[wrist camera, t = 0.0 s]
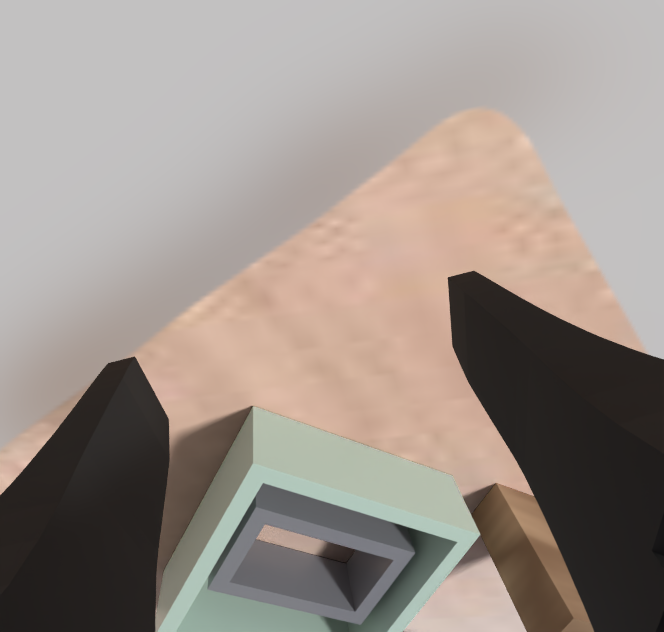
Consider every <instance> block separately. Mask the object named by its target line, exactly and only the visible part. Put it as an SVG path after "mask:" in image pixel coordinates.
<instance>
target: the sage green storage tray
mask: <svg viewBox="0 0 664 632" xmlns="http://www.w3.org/2000/svg"><path fill="white" fill-rule="evenodd" d="M265 524H266V525H270V526H273V527H277V528H280V529H284V530H288V531H291V532H295V533H298V534H302V535H306V536H309V537H313V538H316V539H320V540H323V541H327V542H331V543H334V544H338V545H341V546H345V547H349V548H352V549H356V550H355V552H354V553H353V555H352V556H351V558H350V559H349V560H348V562H347V563H342V562H338V561H334V560H331V559H327V558H323V557H319V556H316V555H312V554H308V553H304V552H301V551H297V550H293V549H289V548H286V547H282V546H278V545H275V544H271V543H267V542H263V541H260V540H256V538H257V536H258V535H259V533H260V531H261V530H262V528H263V526H264V525H265ZM480 535H481V534H480V532H479V530H478V528H477V526H476V524H475V522H474V520H473V518H472V516H471V514H470V512H469V509H468V507H467V505H466V503H465V501H464V499H463V497H462V495H461V493H460V491H459V489H458V486H457V484H456V482H455V480H454V478H453V476H452V475H449V474H446V473H443V472H441V471H438V470H435V469H432V468H429V467H426V466H423V465H421V464H418V463H415V462H412V461H409V460H406V459H403V458H401V457H398V456H395V455H392V454H389V453H386V452H383V451H381V450H378V449H375V448H372V447H369V446H366V445H363V444H361V443H358V442H355V441H352V440H349V439H346V438H343V437H341V436H338V435H335V434H332V433H329V432H326V431H323V430H321V429H318V428H315V427H312V426H309V425H306V424H303V423H301V422H298V421H295V420H292V419H289V418H286V417H283V416H281V415H278V414H275V413H272V412H269V411H266V410H263V409H261V408H258V407H255V406H253V407H252V409H251V411H250V413H249V415H248V416H247V418H246V420H245V422H244V424H243V426H242V427H241V429H240V431H239V433H238V435H237V437H236V439H235V440H234V442H233V444H232V446H231V448H230V450H229V451H228V453H227V455H226V457H225V459H224V461H223V463H222V464H221V466H220V468H219V470H218V472H217V474H216V475H215V477H214V479H213V481H212V483H211V485H210V486H209V488H208V490H207V492H206V494H205V496H204V498H203V499H202V501H201V503H200V505H199V507H198V509H197V510H196V512H195V514H194V516H193V518H192V520H191V522H190V523H189V525H188V527H187V529H186V531H185V533H184V534H183V536H182V538H181V540H180V542H179V544H178V545H177V547H176V549H175V551H174V553H173V555H172V557H171V558H170V560H169V562H168V564H167V566H166V568H165V569H164V572H163V577H162V583H161V589H160V594H159V600H158V606H157V612H156V617H155V632H403V631H404V629H405V628H406V627H407V626H408V624H409V623H410V622H411V621H412V619H413V618H414V617H415V616H416V614H417V613H418V612H419V611H420V609H421V608H422V607H423V606H424V604H425V603H426V602H427V601H428V599H429V598H430V597H431V596H432V594H433V593H434V592H435V591H436V589H437V588H438V587H439V586H440V585H441V583H442V582H443V581H444V580H445V578H446V577H447V576H448V575H449V573H450V572H451V571H452V570H453V568H454V567H455V566H456V565H457V563H458V562H459V561H460V560H461V558H462V557H463V556H464V555H465V553H466V552H467V551H468V550H469V548H470V547H471V546H472V545H473V543H474V542H475V541H476V540H477V538H478V537H479V536H480Z"/></svg>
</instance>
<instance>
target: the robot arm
mask: <svg viewBox="0 0 664 632" xmlns="http://www.w3.org/2000/svg"><path fill="white" fill-rule="evenodd" d="M448 287H449V301H450V316H451V331H452V345H453V348H454V351H455V353H456V355H457V358H458V360H459V362H460V365H461V367H462V369H463V371H464V374H465V376H466V378H467V380H468V382H469V384H470V386H471V387H472V389H473V391H474V392H475V394H476V396H477V397H478V399H479V401H480V402H481V404H482V406H483V407H484V409H485V411H486V412H487V414H488V415H489V417H490V419H491V420H492V422H493V423H494V425H495V427H496V428H497V430H498V432H499V433H500V435H501V436H502V438H503V440H504V441H505V443H506V445H507V446H508V448H509V449H510V451H511V453H512V454H513V456H514V458H515V459H516V461H517V463H518V465H519V467H520V468H521V470H522V472H523V474H524V476H525V478H526V480H527V482H528V484H529V486H530V488H531V490H532V492H533V494H534V496H535V498H536V501H537V503H538V505H539V507H540V509H541V511H542V513H543V515H544V517H545V520H546V522H547V524H548V526H549V528H550V531H551V533H552V535H553V537H554V539H555V541H556V544H557V546H558V548H559V550H560V552H561V555H562V557H563V559H564V561H565V564H566V566H567V568H568V571H569V573H570V575H571V578H572V580H573V582H574V585H575V587H576V589H577V591H578V594H579V596H580V598H581V601H582V603H583V605H584V608H585V610H586V613H587V615H588V618H589V620H590V622H591V625H592V627H593V630H594V632H664V360H663V359H660V358H657V357H653V356H651V355H648V354H645V353H642V352H639V351H636V350H633V349H630V348H628V347H625V346H622V345H620V344H617V343H615V342H612V341H609V340H607V339H604V338H602V337H599V336H597V335H594V334H592V333H590V332H587V331H585V330H583V329H581V328H579V327H577V326H575V325H572V324H570V323H568V322H566V321H564V320H562V319H560V318H558V317H556V316H554V315H552V314H550V313H548V312H546V311H544V310H542V309H540V308H538V307H537V306H535V305H533V304H531V303H529V302H527V301H526V300H524V299H522V298H520V297H519V296H517V295H515V294H513V293H512V292H510V291H508V290H506V289H505V288H503V287H501V286H500V285H498V284H496V283H494V282H493V281H491V280H489V279H488V278H486V277H484V276H482V275H481V274H479V273H477V272H475V271H471V272H467V273H463V274H460V275H456V276H452V277H448ZM168 468H169V419H168V417H167V415H166V413H165V411H164V410H163V408H162V406H161V404H160V402H159V400H158V398H157V397H156V395H155V393H154V391H153V389H152V387H151V385H150V384H149V382H148V380H147V378H146V376H145V374H144V372H143V371H142V369H141V367H140V365H139V363H138V361H137V359H136V358H135V357H131V358H127V359H123V360H120V361H115V362H111V363H108V364H107V365H106V367H105V368H104V369H103V370H102V371H101V373H100V374H99V375H98V376H97V378H96V379H95V380H94V382H93V383H92V384H91V386H90V387H89V388H88V390H87V391H86V392H85V394H84V395H83V396H82V398H81V399H80V400H79V402H78V403H77V404H76V406H75V407H74V408H73V409H72V411H71V412H70V413H69V415H68V416H67V417H66V419H65V420H64V421H63V423H62V424H61V425H60V426H59V428H58V429H57V430H56V432H55V433H54V434H53V435H52V437H51V438H50V439H49V440H48V441H47V443H46V444H45V445H44V446H43V447H42V449H41V450H40V451H39V452H38V453H37V455H36V456H35V457H34V458H33V459H32V460H31V462H30V463H29V464H28V465H27V466H26V468H25V469H24V470H23V471H22V472H21V474H20V475H19V476H18V477H17V478H16V479H15V480H14V481H13V482H12V483H11V485H10V486H9V487H8V488H7V489H6V490H5V491H4V492H3V493H2V494H1V495H0V632H155V609H156V569H157V557H158V547H159V539H160V532H161V524H162V516H163V508H164V501H165V493H166V485H167V476H168Z"/></svg>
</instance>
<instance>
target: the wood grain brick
mask: <svg viewBox="0 0 664 632" xmlns="http://www.w3.org/2000/svg"><path fill="white" fill-rule="evenodd" d="M471 516H472V518H473V520H474V522H475V524H476V526H477V528H478V530H479V532H480V534H481V537H482V539H483V541H484V543H485V545H486V547H487V549H488V551H489V553H490V556H491V558H492V560H493V562H494V564H495V566H496V568H497V570H498V572H499V574H500V576H501V578H502V581H503V583H504V585H505V587H506V589H507V591H508V593H509V595H510V597H511V599H512V601H513V604H514V606H515V608H516V610H517V612H518V614H519V616H520V618H521V620H522V622H523V624H524V626H525V629H526V631H527V632H594V630H593V627H592V625H591V622H590V620H589V618H588V615H587V613H586V610H585V608H584V605H583V603H582V601H581V598H580V596H579V594H578V591H577V589H576V587H575V585H574V582H573V580H572V578H571V575H570V573H569V571H568V568H567V566H566V564H565V561H564V559H563V557H562V555H561V552H560V550H559V548H558V546H557V544H556V541H555V539H554V537H553V535H552V533H551V531H550V528H549V526H548V524H547V522H546V520H545V517H544V515H543V513H542V511H541V509H540V507H539V505H538V503H537V501H536V498H535V497H534V496H531V495H528V494H526V493H523V492H520V491H517V490H514V489H512V488H509V487H506V486H503V485H500V484H498V483H496V484H495V485H494V486H493V487H492V489H491V490H490V491H489V493H488V494H487V495H486V496H485V498H484V499H483V500H482V502H481V503H480V504H479V505H478V507H477V508H476V509H475V511H474V512H473V513H472V514H471Z"/></svg>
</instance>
